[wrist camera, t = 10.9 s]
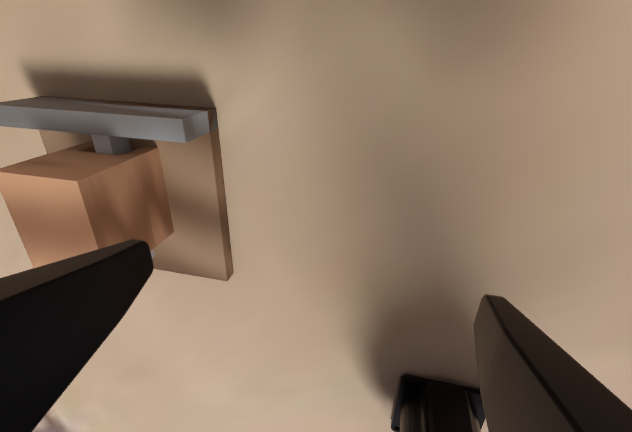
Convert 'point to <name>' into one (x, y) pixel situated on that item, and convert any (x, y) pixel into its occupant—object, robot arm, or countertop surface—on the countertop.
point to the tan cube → (86, 201)
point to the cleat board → (176, 159)
